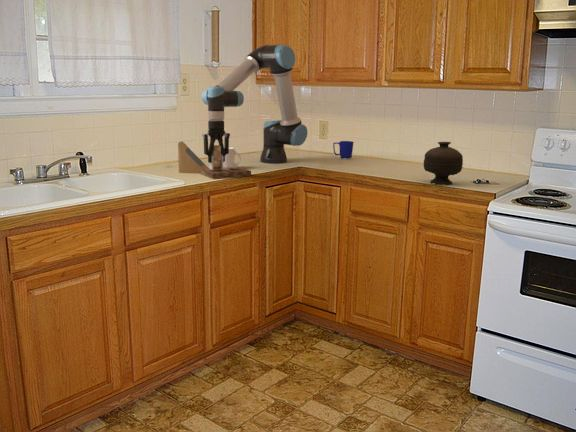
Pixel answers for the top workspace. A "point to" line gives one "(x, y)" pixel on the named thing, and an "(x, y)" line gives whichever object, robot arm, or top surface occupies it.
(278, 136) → the robot arm
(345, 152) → the mug
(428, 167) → the pot
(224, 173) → the board
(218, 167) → the peg
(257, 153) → the top surface
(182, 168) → the sandwich container
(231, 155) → the mug
